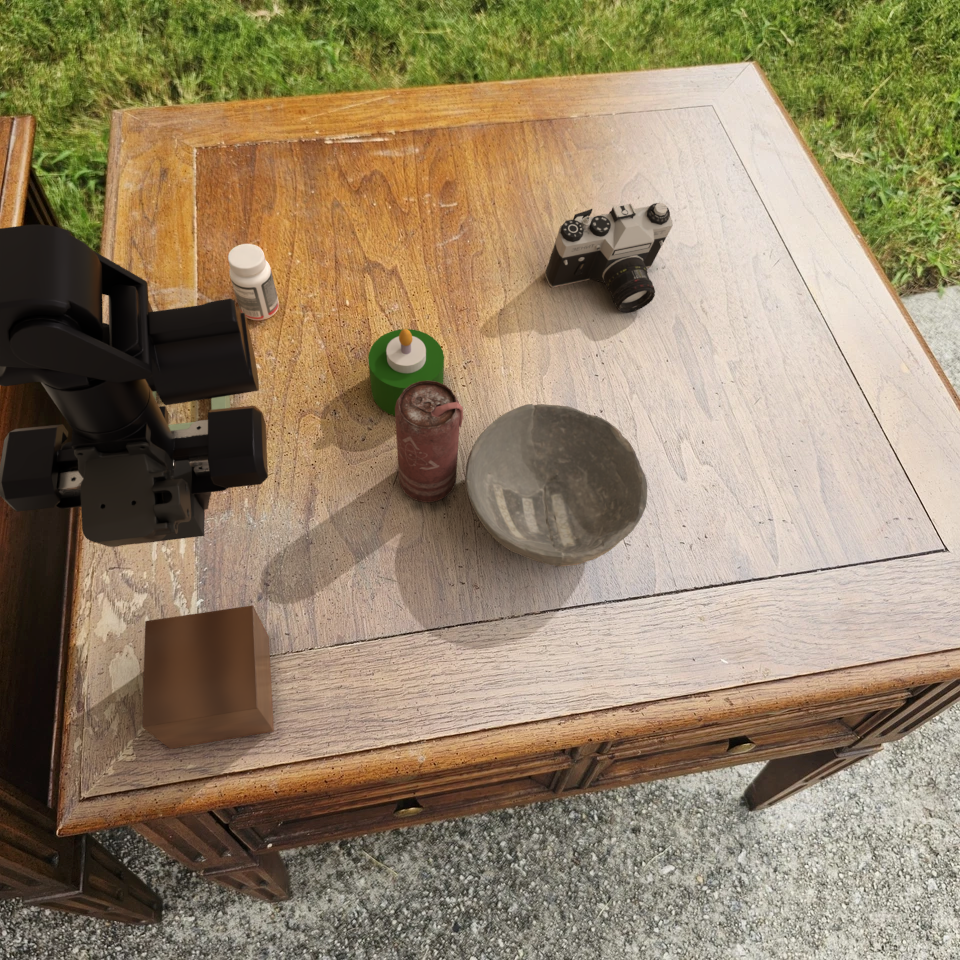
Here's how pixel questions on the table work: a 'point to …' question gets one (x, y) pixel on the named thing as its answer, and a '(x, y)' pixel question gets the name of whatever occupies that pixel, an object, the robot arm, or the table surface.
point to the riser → (207, 677)
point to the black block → (197, 513)
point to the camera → (612, 252)
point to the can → (427, 440)
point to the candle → (402, 364)
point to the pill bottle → (253, 282)
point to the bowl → (555, 484)
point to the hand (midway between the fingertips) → (169, 509)
